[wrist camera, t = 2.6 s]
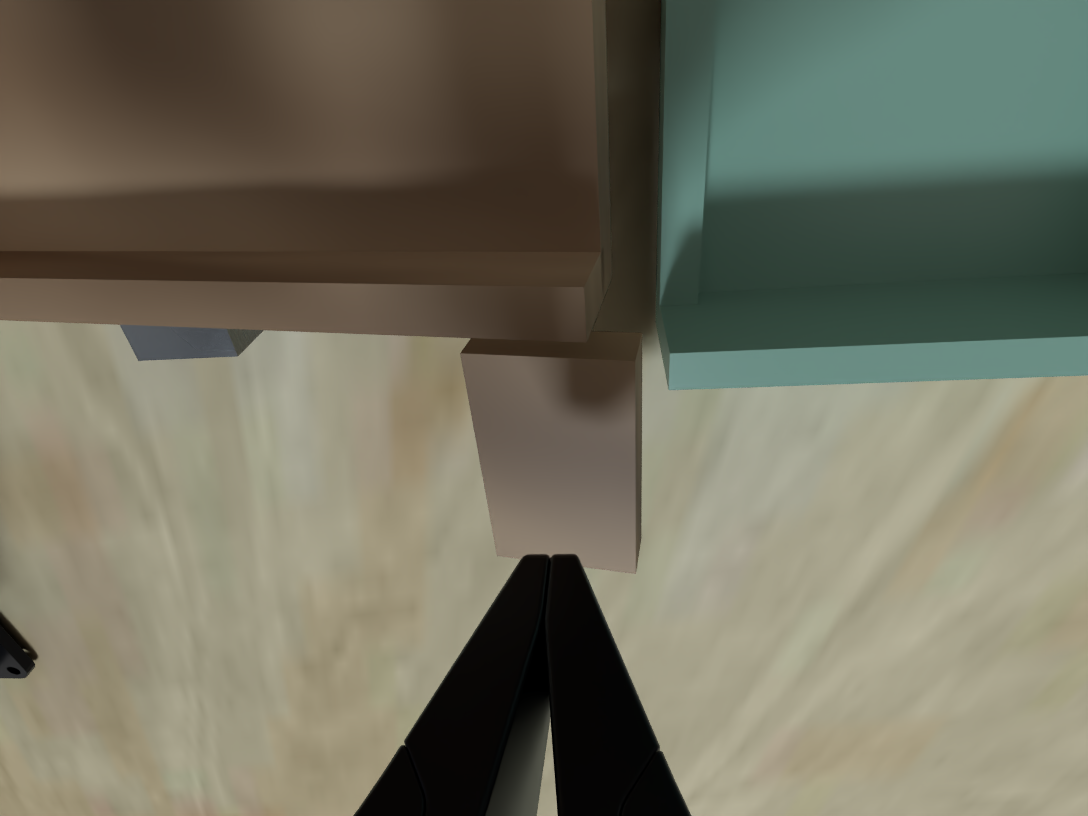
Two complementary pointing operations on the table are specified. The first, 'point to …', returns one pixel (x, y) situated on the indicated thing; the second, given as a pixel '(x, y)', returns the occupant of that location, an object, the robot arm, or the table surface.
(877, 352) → the tray
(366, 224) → the chute
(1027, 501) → the table surface
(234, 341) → the fulcrum
